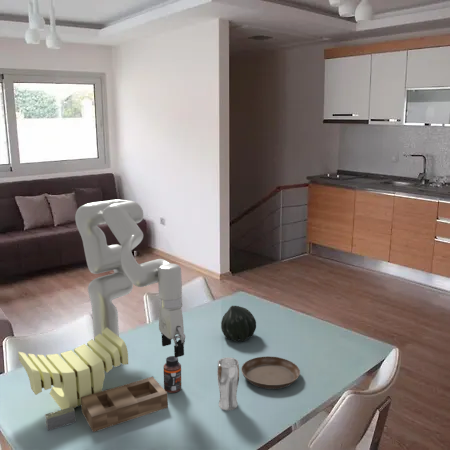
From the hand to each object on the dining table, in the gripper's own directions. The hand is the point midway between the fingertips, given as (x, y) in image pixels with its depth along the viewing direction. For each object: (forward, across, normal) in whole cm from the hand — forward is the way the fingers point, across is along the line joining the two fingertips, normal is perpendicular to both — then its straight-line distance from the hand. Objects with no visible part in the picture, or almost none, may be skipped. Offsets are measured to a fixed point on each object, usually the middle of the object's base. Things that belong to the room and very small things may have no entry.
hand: (172, 350), depth 161 cm
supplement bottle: (+15, -1, 0) cm, 15 cm away
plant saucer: (+15, +10, +33) cm, 38 cm away
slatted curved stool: (+14, -13, -29) cm, 35 cm away
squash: (+14, -23, +41) cm, 49 cm away
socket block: (+14, +2, -18) cm, 23 cm away
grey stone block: (+14, -1, -37) cm, 40 cm away
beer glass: (+15, +17, +11) cm, 25 cm away
